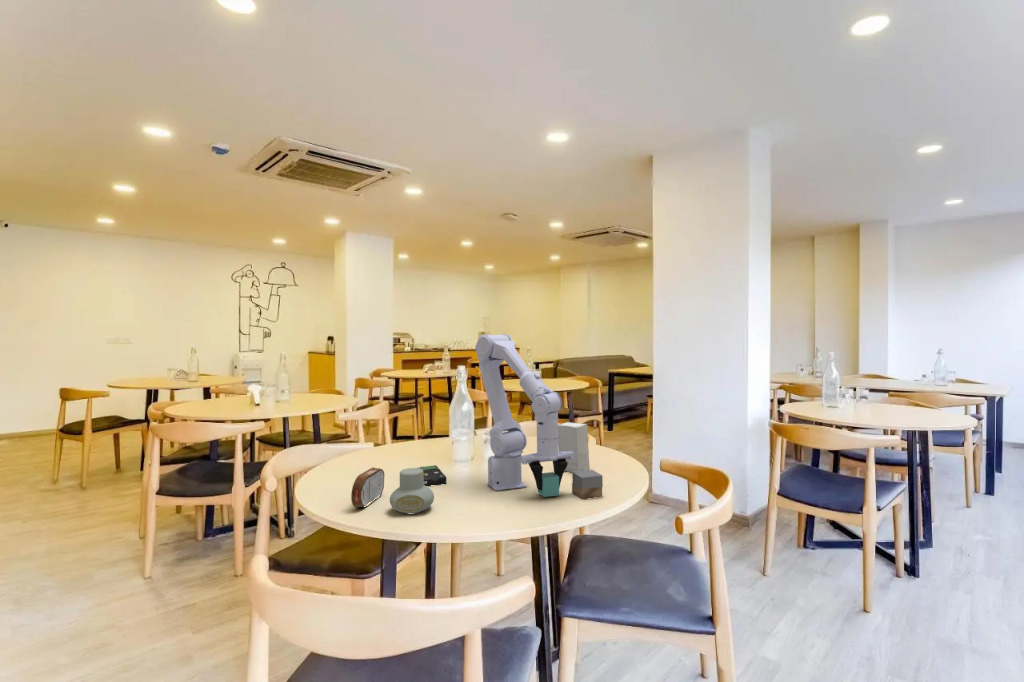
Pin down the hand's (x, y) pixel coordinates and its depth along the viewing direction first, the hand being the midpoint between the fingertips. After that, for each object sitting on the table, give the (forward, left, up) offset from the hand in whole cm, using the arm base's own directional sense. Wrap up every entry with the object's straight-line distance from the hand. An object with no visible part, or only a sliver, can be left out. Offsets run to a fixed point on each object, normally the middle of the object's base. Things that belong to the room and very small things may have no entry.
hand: (548, 488), depth 136 cm
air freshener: (-36, +2, -2) cm, 36 cm away
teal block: (0, 0, -1) cm, 1 cm away
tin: (-46, +12, -2) cm, 48 cm away
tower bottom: (+10, -3, -2) cm, 11 cm away
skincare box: (+17, +21, -2) cm, 27 cm away
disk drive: (-29, +28, -3) cm, 40 cm away
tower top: (+10, -3, +1) cm, 11 cm away
